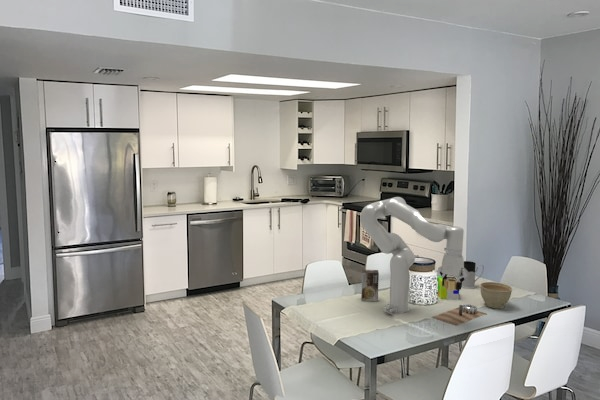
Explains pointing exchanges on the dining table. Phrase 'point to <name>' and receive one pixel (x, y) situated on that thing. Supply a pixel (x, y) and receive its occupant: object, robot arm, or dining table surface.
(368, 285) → the coffee box
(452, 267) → the robot arm
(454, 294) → the puzzle toy
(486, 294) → the planter bowl
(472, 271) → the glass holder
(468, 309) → the steel gear
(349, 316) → the dining table surface
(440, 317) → the gear board
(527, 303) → the dining table surface
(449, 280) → the brass gear
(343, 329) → the dining table surface
